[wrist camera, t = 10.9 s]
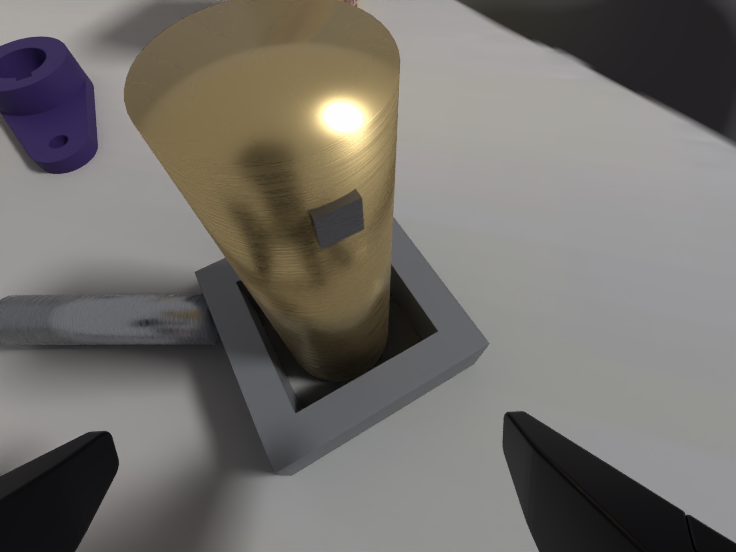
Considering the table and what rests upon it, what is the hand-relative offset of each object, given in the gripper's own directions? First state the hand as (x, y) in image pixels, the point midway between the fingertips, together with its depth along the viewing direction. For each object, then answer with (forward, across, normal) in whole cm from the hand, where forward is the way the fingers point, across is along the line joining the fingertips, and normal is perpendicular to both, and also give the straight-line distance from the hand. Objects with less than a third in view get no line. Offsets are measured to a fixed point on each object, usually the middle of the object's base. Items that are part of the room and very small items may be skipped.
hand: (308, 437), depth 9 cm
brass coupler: (+10, 0, +2) cm, 11 cm away
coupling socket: (+10, 0, +2) cm, 11 cm away
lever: (+23, +21, -10) cm, 33 cm away
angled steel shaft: (+11, +11, +2) cm, 15 cm away
